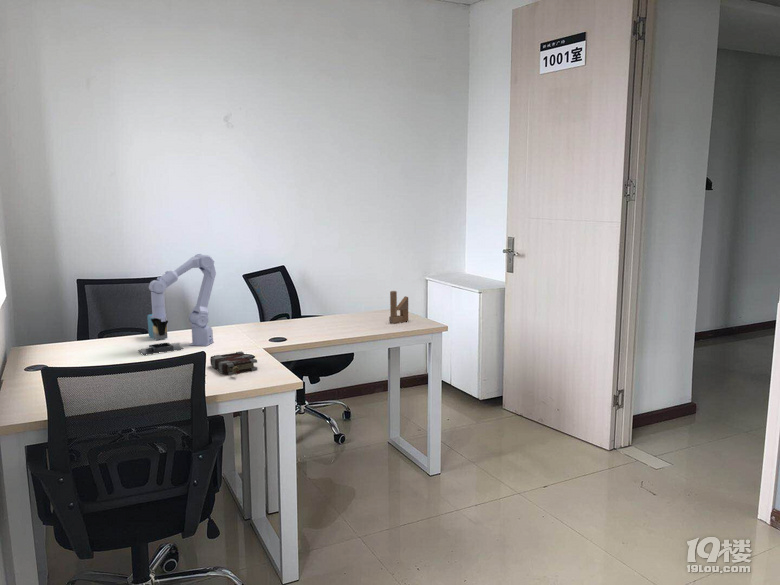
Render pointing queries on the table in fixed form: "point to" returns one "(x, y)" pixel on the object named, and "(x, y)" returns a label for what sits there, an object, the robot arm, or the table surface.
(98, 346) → the table surface
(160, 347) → the shaft rig
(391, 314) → the brown wooden bracket
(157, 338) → the coupler
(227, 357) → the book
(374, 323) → the table surface
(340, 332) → the table surface
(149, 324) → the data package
